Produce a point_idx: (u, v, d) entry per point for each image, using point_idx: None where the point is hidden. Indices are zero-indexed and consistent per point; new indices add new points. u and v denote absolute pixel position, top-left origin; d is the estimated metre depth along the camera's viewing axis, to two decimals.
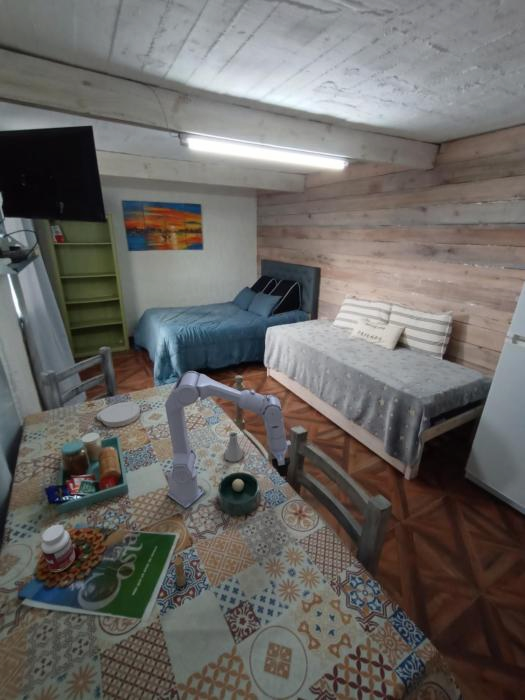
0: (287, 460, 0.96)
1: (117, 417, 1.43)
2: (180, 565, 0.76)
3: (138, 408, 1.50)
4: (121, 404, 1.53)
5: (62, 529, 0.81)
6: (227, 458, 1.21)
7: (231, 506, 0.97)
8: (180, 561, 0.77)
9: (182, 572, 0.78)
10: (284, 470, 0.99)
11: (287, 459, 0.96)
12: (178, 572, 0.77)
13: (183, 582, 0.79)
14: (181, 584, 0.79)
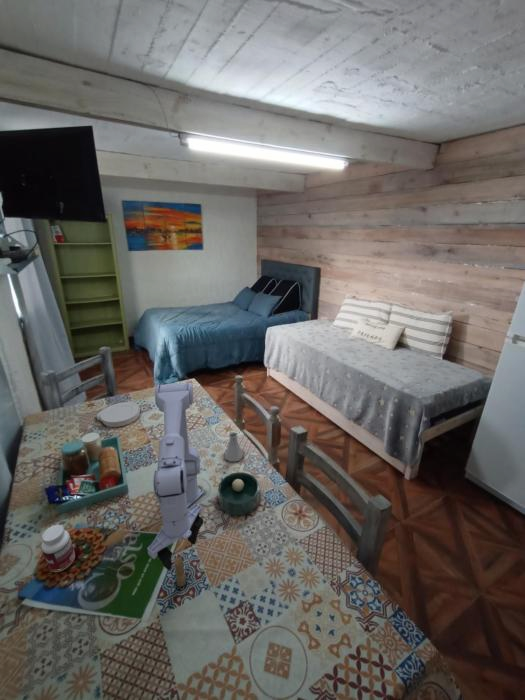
0: (164, 555, 0.68)
1: (117, 417, 1.43)
2: (180, 565, 0.76)
3: (138, 408, 1.50)
4: (121, 404, 1.53)
5: (62, 529, 0.81)
6: (227, 458, 1.21)
7: (231, 506, 0.97)
8: (180, 561, 0.77)
9: (182, 572, 0.78)
10: (166, 562, 0.72)
11: (166, 554, 0.69)
12: (178, 572, 0.77)
13: (183, 582, 0.79)
14: (181, 584, 0.79)
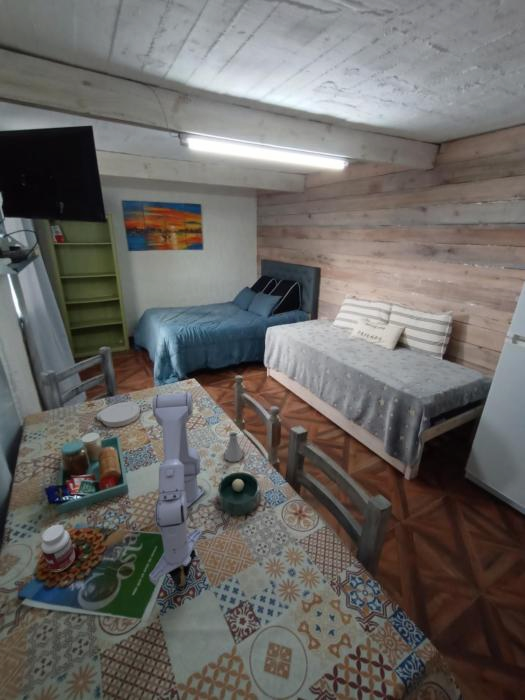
0: (174, 572, 0.73)
1: (117, 417, 1.43)
2: None
3: (138, 408, 1.50)
4: (121, 404, 1.53)
5: (62, 529, 0.81)
6: (227, 458, 1.21)
7: (231, 506, 0.97)
8: None
9: (182, 572, 0.78)
10: None
11: (176, 571, 0.74)
12: None
13: (183, 582, 0.79)
14: (181, 584, 0.79)
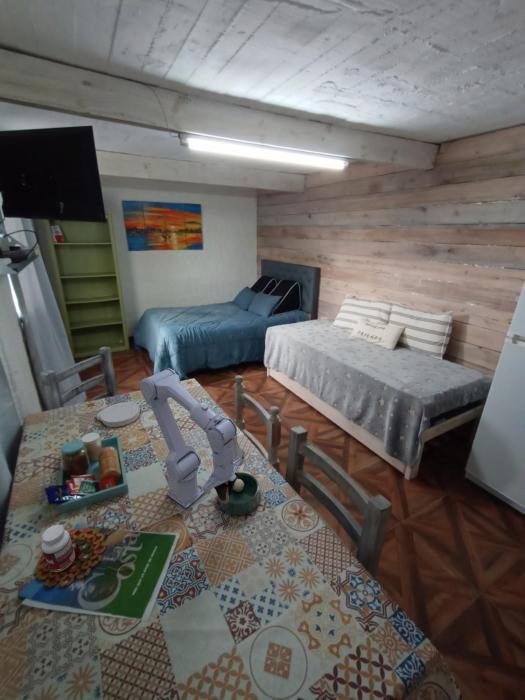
0: (222, 486, 0.88)
1: (117, 417, 1.43)
2: (226, 483, 0.91)
3: (138, 408, 1.50)
4: (121, 404, 1.53)
5: (62, 529, 0.81)
6: None
7: (231, 506, 0.97)
8: None
9: (227, 490, 0.92)
10: (222, 494, 0.91)
11: (224, 486, 0.88)
12: None
13: (227, 500, 0.93)
14: (226, 501, 0.93)
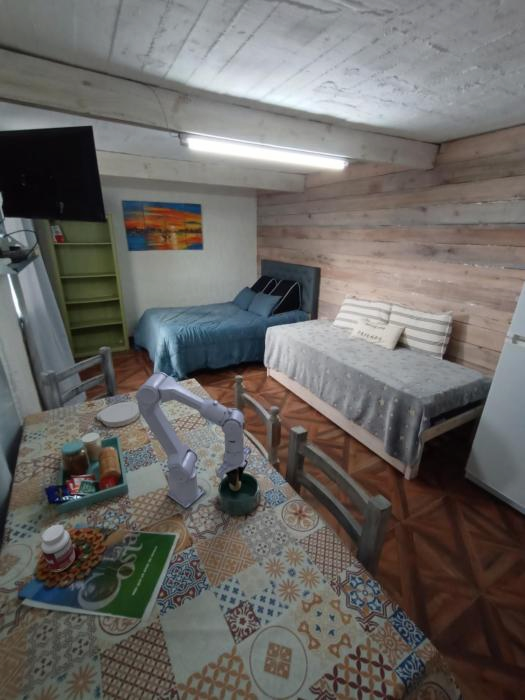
0: (234, 472, 0.96)
1: (117, 417, 1.43)
2: None
3: None
4: (121, 404, 1.53)
5: (62, 529, 0.81)
6: None
7: (231, 506, 0.97)
8: None
9: (237, 476, 1.00)
10: (233, 480, 0.99)
11: (235, 471, 0.96)
12: None
13: (238, 485, 1.01)
14: (236, 486, 1.01)
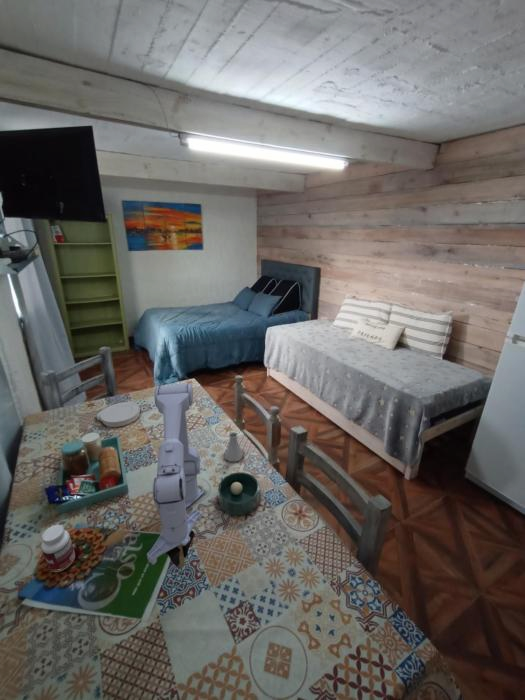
0: (173, 552, 0.72)
1: (117, 417, 1.43)
2: (179, 545, 0.74)
3: (138, 408, 1.50)
4: (121, 404, 1.53)
5: (62, 529, 0.81)
6: (227, 458, 1.21)
7: (231, 506, 0.97)
8: None
9: (181, 553, 0.75)
10: (174, 559, 0.75)
11: (175, 551, 0.72)
12: None
13: (183, 564, 0.77)
14: (181, 566, 0.76)
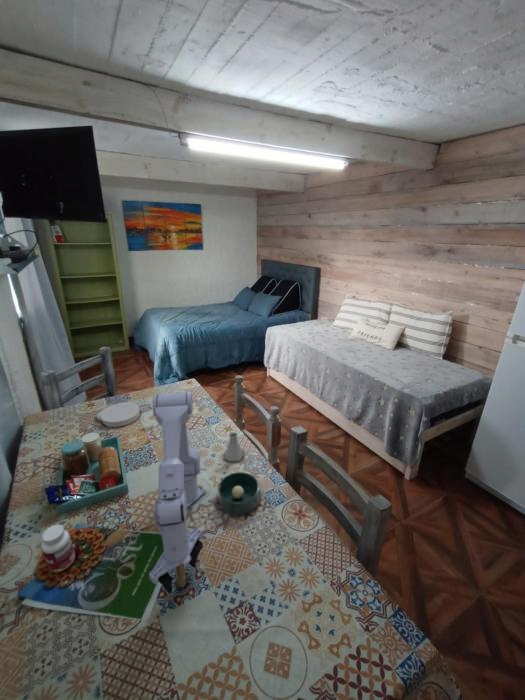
0: (165, 581, 0.71)
1: (117, 417, 1.43)
2: (181, 566, 0.76)
3: (138, 408, 1.50)
4: (121, 404, 1.53)
5: (62, 529, 0.81)
6: (227, 458, 1.21)
7: (231, 506, 0.97)
8: None
9: (183, 573, 0.77)
10: None
11: (167, 579, 0.72)
12: (179, 573, 0.77)
13: (184, 583, 0.79)
14: (182, 585, 0.78)
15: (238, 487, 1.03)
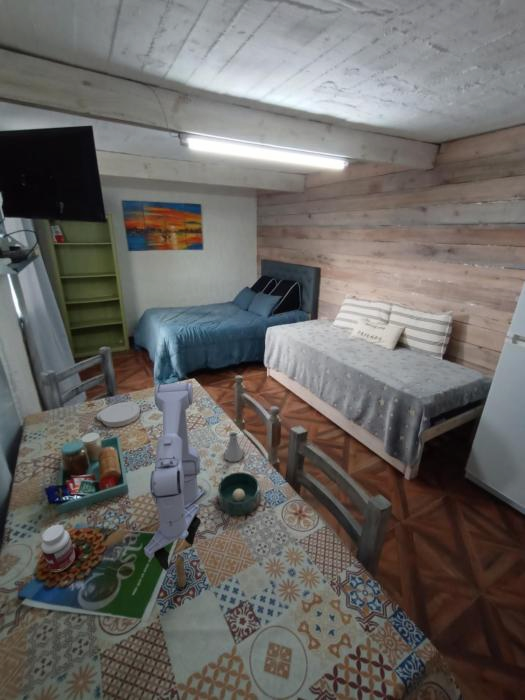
0: (161, 556, 0.68)
1: (117, 417, 1.43)
2: (181, 566, 0.76)
3: (138, 408, 1.50)
4: (121, 404, 1.53)
5: (62, 529, 0.81)
6: (227, 458, 1.21)
7: (231, 506, 0.97)
8: (181, 562, 0.77)
9: (183, 573, 0.77)
10: (163, 563, 0.71)
11: (163, 554, 0.69)
12: (179, 573, 0.77)
13: (184, 583, 0.79)
14: (182, 585, 0.78)
15: (240, 494, 1.01)
